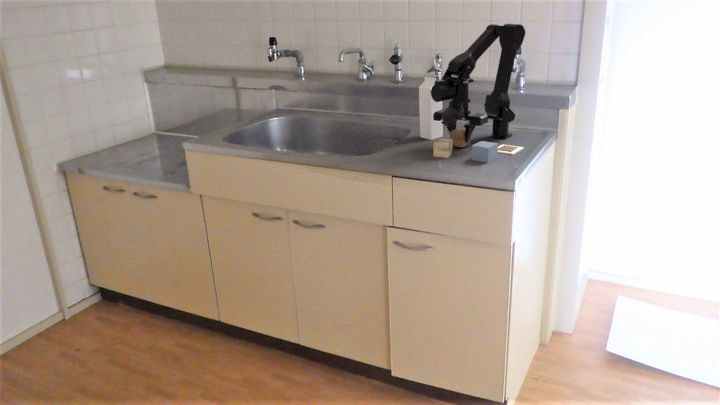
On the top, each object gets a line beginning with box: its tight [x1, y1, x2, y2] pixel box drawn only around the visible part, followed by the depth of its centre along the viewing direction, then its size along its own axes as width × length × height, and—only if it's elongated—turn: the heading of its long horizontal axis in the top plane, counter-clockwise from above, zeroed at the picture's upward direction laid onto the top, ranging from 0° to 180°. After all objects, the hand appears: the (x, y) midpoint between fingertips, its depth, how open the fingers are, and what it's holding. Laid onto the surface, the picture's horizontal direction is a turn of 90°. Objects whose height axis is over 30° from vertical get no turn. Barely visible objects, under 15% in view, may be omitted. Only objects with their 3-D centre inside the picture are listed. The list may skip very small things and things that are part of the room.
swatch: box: [498, 144, 525, 156], centre depth 202 cm, size 8×8×1 cm
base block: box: [471, 140, 499, 163], centre depth 194 cm, size 6×6×5 cm
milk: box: [418, 76, 444, 141], centre depth 219 cm, size 6×6×22 cm
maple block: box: [432, 138, 453, 159], centre depth 201 cm, size 5×5×5 cm
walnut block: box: [449, 127, 471, 148], centre depth 208 cm, size 5×5×5 cm
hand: (460, 141), depth 209 cm, fingers closed on walnut block, 5 cm apart
